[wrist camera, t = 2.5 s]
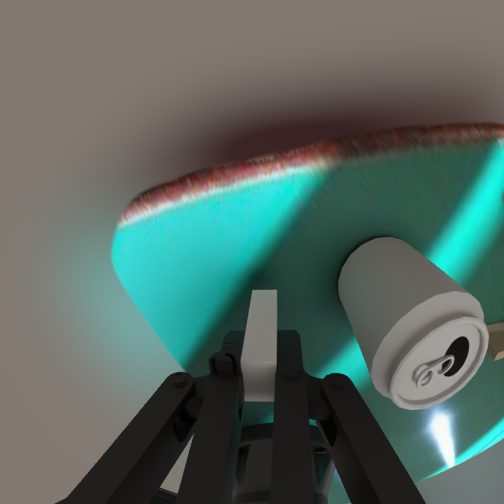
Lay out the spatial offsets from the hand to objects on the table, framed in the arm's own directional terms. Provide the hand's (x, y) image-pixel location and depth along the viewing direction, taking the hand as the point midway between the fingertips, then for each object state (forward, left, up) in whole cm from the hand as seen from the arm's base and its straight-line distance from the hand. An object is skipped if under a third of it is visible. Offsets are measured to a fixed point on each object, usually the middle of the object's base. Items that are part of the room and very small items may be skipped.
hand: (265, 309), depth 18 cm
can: (0, -9, -5) cm, 11 cm away
